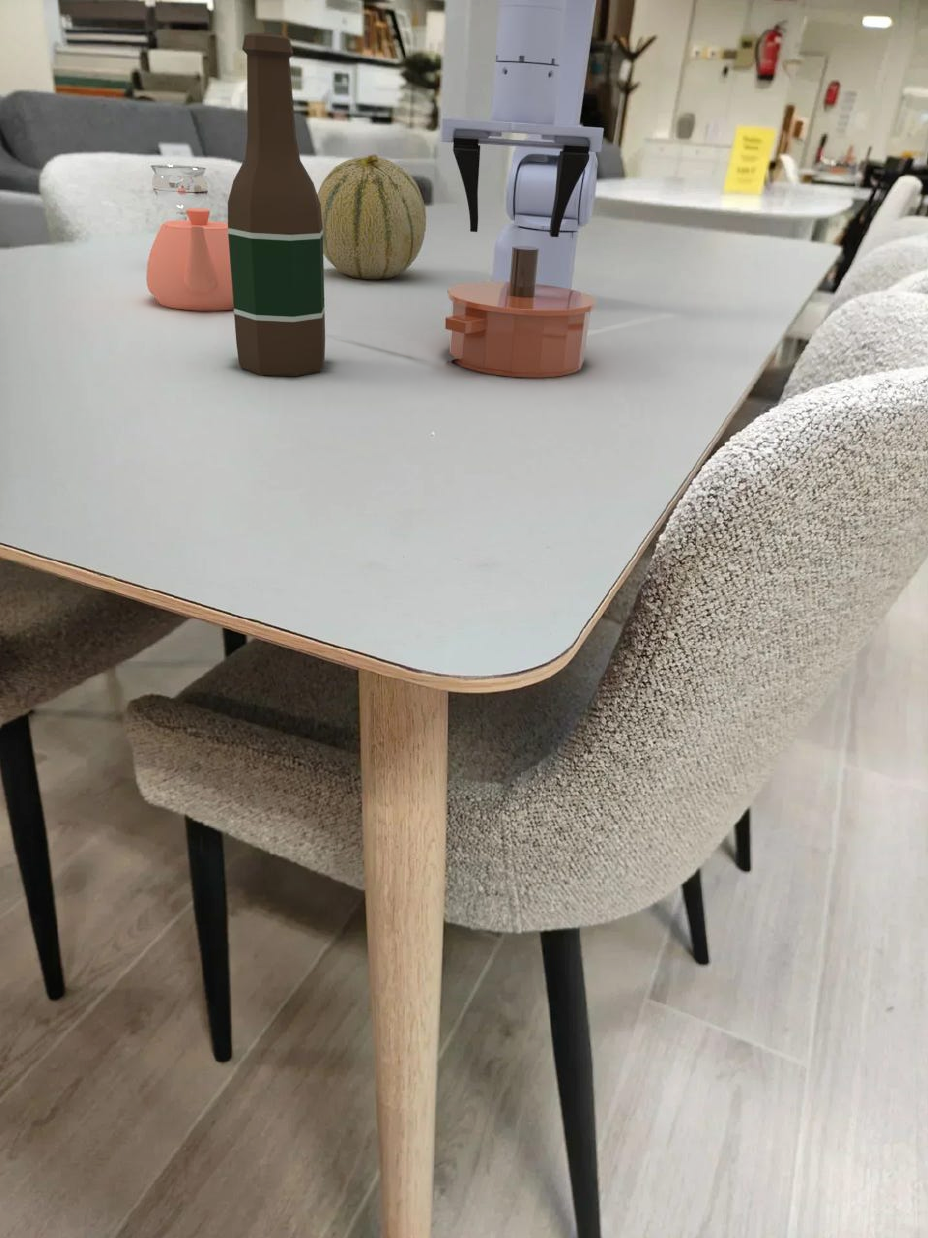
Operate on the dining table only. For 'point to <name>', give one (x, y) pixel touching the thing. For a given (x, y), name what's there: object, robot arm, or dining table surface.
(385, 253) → the cantaloupe
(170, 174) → the wineglass
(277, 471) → the dining table surface
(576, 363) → the faceted orange tub
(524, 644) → the dining table surface
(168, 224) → the teapot
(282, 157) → the beer bottle
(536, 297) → the pot lid
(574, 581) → the dining table surface
